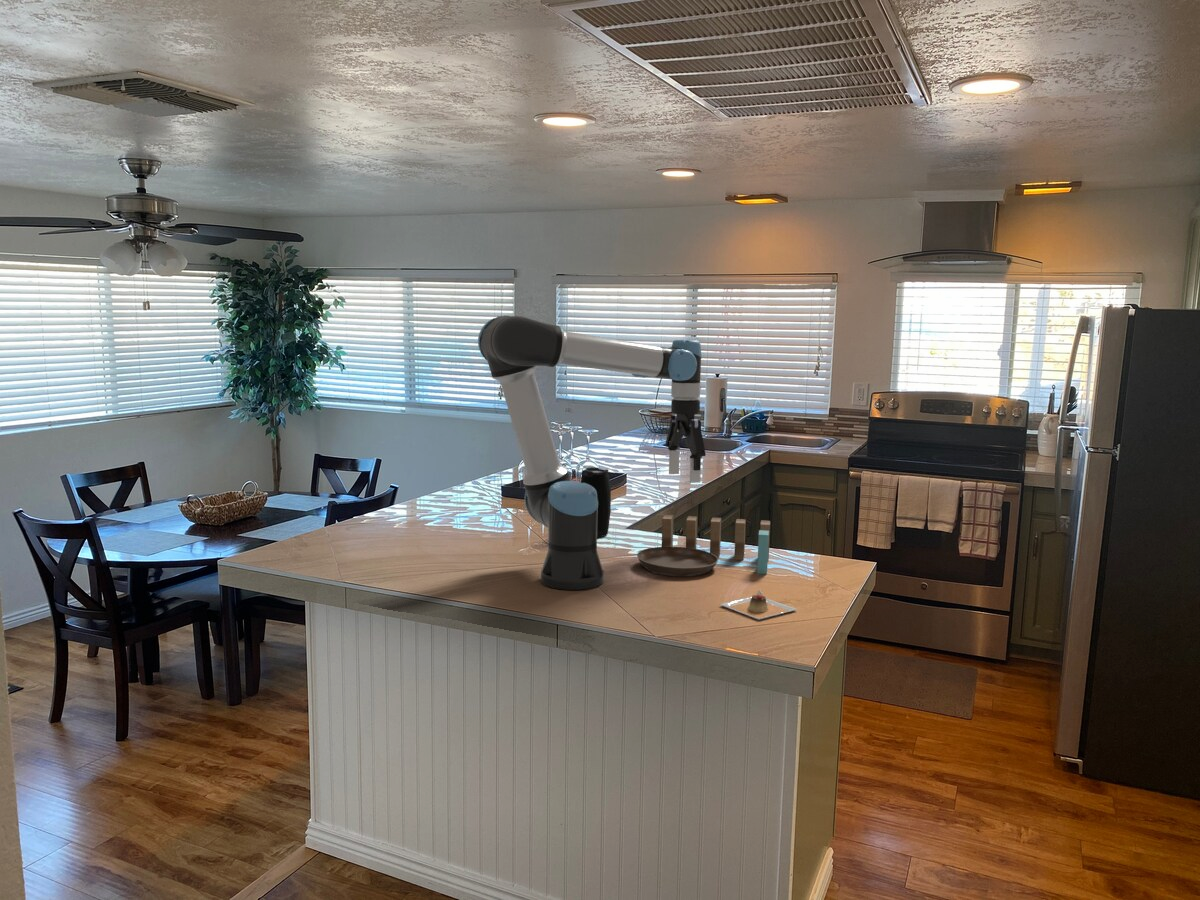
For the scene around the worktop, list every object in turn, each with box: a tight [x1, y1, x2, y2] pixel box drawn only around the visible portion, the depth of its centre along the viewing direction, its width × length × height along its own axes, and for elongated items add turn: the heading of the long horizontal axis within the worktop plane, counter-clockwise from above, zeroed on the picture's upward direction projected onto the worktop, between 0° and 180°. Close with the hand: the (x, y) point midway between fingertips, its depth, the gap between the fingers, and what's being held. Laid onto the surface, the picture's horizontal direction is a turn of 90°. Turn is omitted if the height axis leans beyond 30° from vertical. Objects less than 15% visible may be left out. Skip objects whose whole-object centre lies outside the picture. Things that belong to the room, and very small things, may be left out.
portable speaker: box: [579, 466, 612, 538], centre depth 259 cm, size 9×9×20 cm
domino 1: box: [661, 514, 674, 547], centre depth 240 cm, size 5×2×10 cm, turn 168°
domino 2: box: [685, 515, 698, 549], centre depth 239 cm, size 5×2×10 cm, turn 168°
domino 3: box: [709, 517, 722, 560], centre depth 238 cm, size 5×2×10 cm, turn 168°
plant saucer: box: [636, 546, 719, 577], centre depth 226 cm, size 21×21×3 cm
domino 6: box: [756, 529, 770, 575], centre depth 223 cm, size 5×2×10 cm, turn 168°
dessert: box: [719, 589, 798, 621], centre depth 194 cm, size 12×12×5 cm
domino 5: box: [759, 519, 771, 561], centre depth 235 cm, size 5×2×10 cm, turn 168°
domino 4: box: [733, 518, 747, 561], centre depth 236 cm, size 5×2×10 cm, turn 168°
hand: (684, 478), depth 236 cm, fingers open, 13 cm apart
